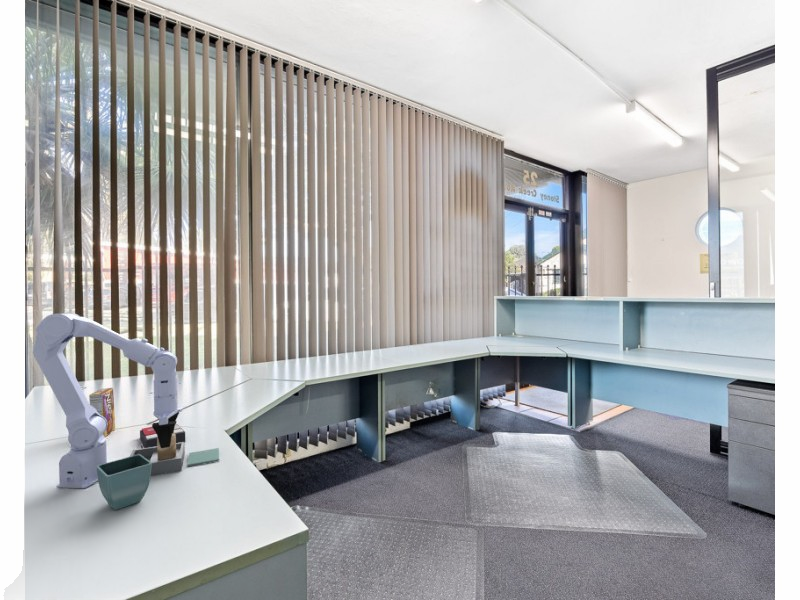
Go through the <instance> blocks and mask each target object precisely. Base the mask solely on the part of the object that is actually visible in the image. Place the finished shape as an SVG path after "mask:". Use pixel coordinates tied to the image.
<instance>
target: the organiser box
mask: <svg viewBox="0 0 800 600" xmlns="http://www.w3.org/2000/svg"><path fill="white" fill-rule="evenodd" d="M185 443H186V441H185V442H181V443H176V457H175V458H173V459H167V460H162V461H159V460H158V455H157V446H155V447H149V448H144V447H143V448H136V449H132V451H131V453H130V455H129V457H130V456H134V455H138V454H140V455H142V456H143V457H144V458H146V459H147V460H149V461H150V462H152V467H151V475H150V478H151V477H155V476H160V475H166V474H172V473H177V472H182V470H183V464H184V459H185V453H186V449H185V448H186V447H185V445H186V444H185Z"/></svg>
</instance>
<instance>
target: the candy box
mask: <svg viewBox="0 0 800 600" xmlns="http://www.w3.org/2000/svg"><path fill="white" fill-rule="evenodd" d="M114 395H115V394H114V387H107V388H100V389H98V390H97V391H94V392H92V393H90V394H88V396H89V397H88V399H89V401H88V402H89V404H90V405H91V406H92V407H94V408H95V409H96V410H97V412H98V413H99V414H100V415H101V416H103V417H104V418H105V419H106V420H107V423H108V426H107V429H106V431H105V432H104V433H103V435H104V437H105V438H107V436H108V435H110V434H111V433H112V432H113V431H115V430H116V415H115V412H116V411H115V400H114V399H115V398H114Z"/></svg>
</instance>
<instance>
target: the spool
mask: <svg viewBox="0 0 800 600" xmlns="http://www.w3.org/2000/svg"><path fill="white" fill-rule="evenodd" d="M157 455H158V460H159V461H162V460H167V459H173V458H175V457H176V434H172V438H171V444H170V447H167V448H161V447H160V444H159V440H158V437H157Z"/></svg>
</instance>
